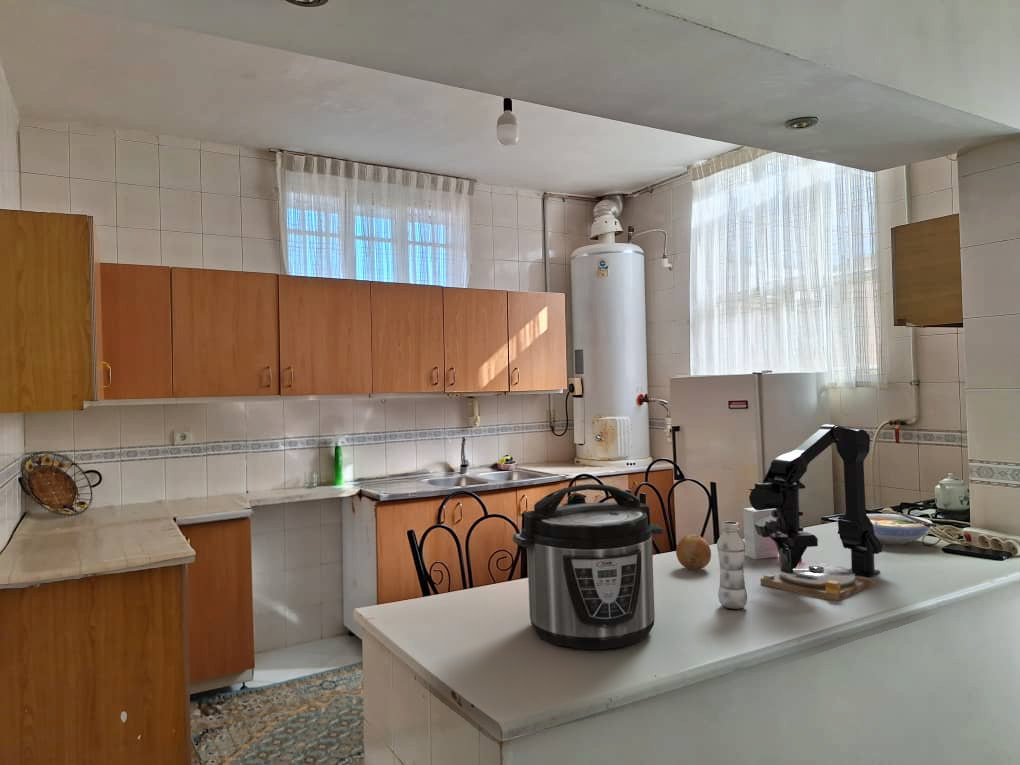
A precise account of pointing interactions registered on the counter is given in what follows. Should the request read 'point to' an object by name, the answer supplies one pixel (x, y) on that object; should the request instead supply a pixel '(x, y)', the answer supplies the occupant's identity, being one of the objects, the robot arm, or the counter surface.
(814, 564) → the dial
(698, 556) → the onion
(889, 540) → the ramen bowl
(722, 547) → the plastic bottle
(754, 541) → the skincare box
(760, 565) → the counter surface
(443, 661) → the counter surface
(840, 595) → the dial base
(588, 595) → the pressure cooker
